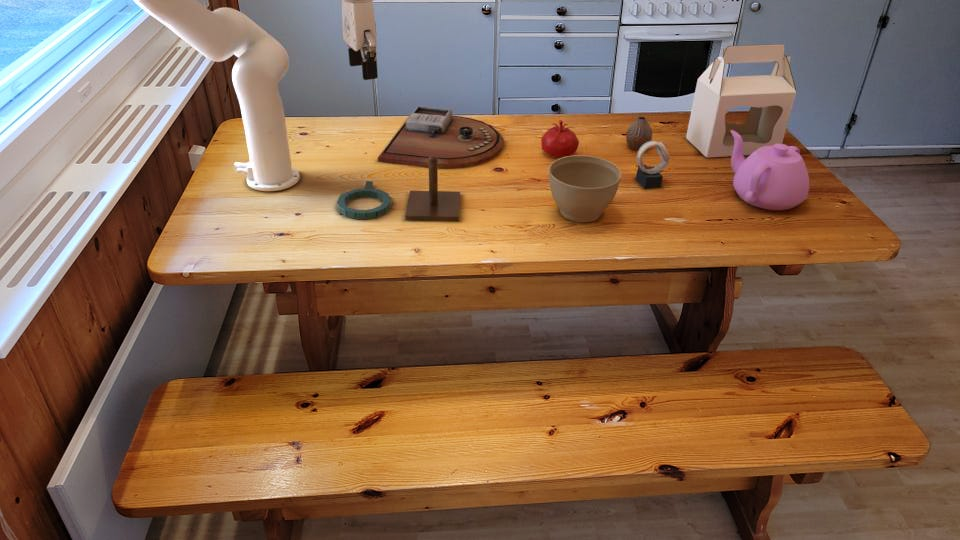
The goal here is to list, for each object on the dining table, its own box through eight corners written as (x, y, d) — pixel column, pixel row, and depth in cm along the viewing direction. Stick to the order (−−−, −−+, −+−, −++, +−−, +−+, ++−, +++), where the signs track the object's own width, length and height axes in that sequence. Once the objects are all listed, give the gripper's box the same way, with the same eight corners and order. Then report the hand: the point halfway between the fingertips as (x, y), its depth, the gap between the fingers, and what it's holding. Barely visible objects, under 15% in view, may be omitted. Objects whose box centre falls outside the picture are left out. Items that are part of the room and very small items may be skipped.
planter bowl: (531, 208, 166) (534, 166, 160) (581, 190, 174) (585, 149, 168) (579, 238, 155) (584, 194, 149) (629, 217, 164) (636, 174, 158)
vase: (653, 146, 197) (659, 116, 192) (644, 155, 192) (649, 124, 187) (630, 140, 200) (635, 111, 195) (620, 149, 195) (625, 118, 190)
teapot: (739, 167, 187) (752, 117, 179) (820, 196, 175) (837, 144, 167) (695, 193, 174) (706, 141, 166) (779, 227, 162) (795, 172, 154)
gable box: (756, 134, 206) (781, 36, 190) (780, 153, 195) (809, 51, 179) (684, 138, 202) (704, 38, 186) (705, 158, 191) (728, 54, 176)
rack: (405, 220, 160) (403, 166, 153) (409, 194, 170) (408, 143, 163) (458, 221, 160) (459, 168, 153) (460, 195, 170) (460, 145, 163)
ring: (333, 218, 160) (333, 212, 159) (344, 186, 173) (344, 180, 172) (388, 219, 160) (387, 213, 159) (395, 187, 173) (394, 181, 172)
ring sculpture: (668, 187, 177) (676, 146, 171) (637, 189, 175) (644, 148, 169) (658, 176, 181) (666, 136, 175) (629, 179, 180) (635, 138, 174)
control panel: (410, 100, 207) (512, 110, 202) (411, 116, 210) (511, 127, 205) (376, 143, 182) (492, 155, 177) (378, 161, 185) (491, 174, 180)
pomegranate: (558, 165, 185) (562, 131, 180) (532, 152, 192) (535, 119, 187) (585, 155, 191) (589, 123, 185) (559, 143, 197) (562, 111, 192)
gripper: (328, -16, 153) (336, 62, 163) (352, 2, 141) (358, 86, 150) (361, -19, 156) (367, 58, 166) (388, -1, 143) (392, 82, 153)
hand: (363, 72), depth 158 cm, fingers open, 9 cm apart
